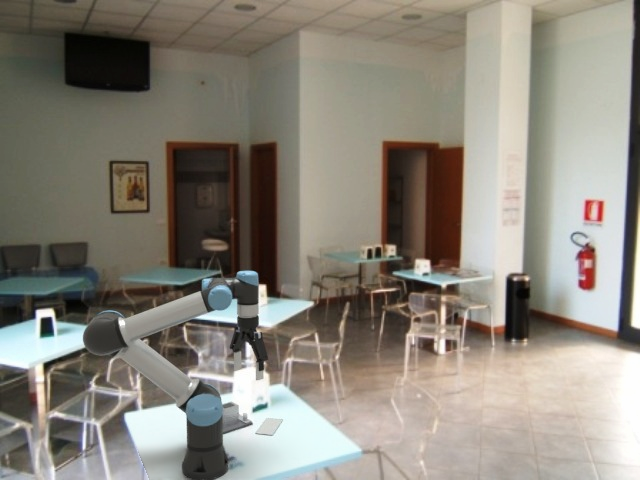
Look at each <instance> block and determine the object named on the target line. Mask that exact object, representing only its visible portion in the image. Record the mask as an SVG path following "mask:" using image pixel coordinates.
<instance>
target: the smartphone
mask: <svg viewBox="0 0 640 480" xmlns="http://www.w3.org/2000/svg"><path fill="white" fill-rule="evenodd" d="M283 421H284V419H283V418H270V417H268V418H267V417H266V418H265V420H263V422H262V424H261V425H260V426H259V428H258V429H257V430H256V431H255V434H256V435H260V436H261V435H262V436H269V437H270V436H271V437H272V436H274V434H275V433H276V431H277V430H278V428H280V426H281V424H282V422H283Z"/></svg>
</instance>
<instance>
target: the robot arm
mask: <svg viewBox="0 0 640 480" xmlns="http://www.w3.org/2000/svg"><path fill="white" fill-rule="evenodd" d="M259 288H260V284H259V273H258V272H257V271H254V270H241V271H238V272H237V273H236V276H235V277H217V278H216V277H210V278H204V279H202V280H201V290H199V291H197V292H194V293H191V294H189V295H185V296H183V297H181V298H178V299H175V300H173V301H172V300H171V301H170V302H167V303H164V304H161V305H159V306H156V307H154V308H150V309H148V310H145V311H142V312H140V313H137V314H135V315H131V316H128V317H124V315H123V314H121V313H120V312H119V311H116V310H103V311H101V312H99V313H98V314H96V315H95V316H94V317H93V318H92V319H91V320H90V321H89V323H88V325H87V326H86V327H85V329H84V330H83V335H82V343H83V345H84V347H85V349H86V350H87V351H88V352H89V353H91V354H92V355H96V356H109V357H111V358H112V359H120V360H123V362H125V363H127V364H128V365H129V366H131V367H132V368H133V369H134V370H135V371H137V372H138V373H140V374H141V375H142V376H143V377H145V378H147V379H148V380H149V381H150V382H152V383H153V384H154V385H155V386H157V387H158V388H159V389H161V390H162V391H163V392H165V393H166V394H167V395H168V396H170V397H171V398H172V399H174V400H175V406H176V407H177V408H178V409H179V410H181V411H182V412H183V413H185V416H186V451H185V453H184V456H183V460H182V464H181V472H182V475H183V476H184V477H185V478H187V479H190V480H214V479H215V480H216V479H218V478H219V477H222V476H223V475H225V474H226V473H227V472H228V471H229V468H228V464H229V458H228V455H227V453H226V449H225V447H224V434H223V406H222V404H223V401H222V396H221V393H220V392H219V391H218V389H217V388H216V387H215V386H214V385H212V384H210V383H207V382H206V383H204V381H202V380H201V379H200V378H191V377H189V376H188V375H187V374H186V373H184V372H183V371H182V370H180V369H179V368H178V367H177V366H175V365H174V364H173V363H171V362H170V361H169V360H168V359H166V358H165V357H164V356H163V355H161V354H160V353H159V352H157V351H156V350H155V349H154V348H153V347H151V346H150V345H148V344H147V343H146V342H145V341H143V340H141V339H143V338H145V337H148V336H151V335H153V334H156V333H159V332H162V331H163V330H167V329H169V328H172V327H174V326H177V325H180V324H182V323H185V322H188V321H190V320H193V319H197V318H198V317H201V316H203V315H206V314H207V315H208V314H209V313H212V312H215V311H225V310H226V309H228V308H230V306H231V304H232V302H233V300H236V315H237V317H236V321H237V323H236V325H235V326H234V329H233V335H232V338H231V341H230V345H229V349H230V350H232V352H233V371H234V372H235V371H239V370H242V348H243V346H244V344H245V342H246V343H248V345H249V346H250V347H251V349H252V351H253V353H254V356H255V358H256V361H255V380H256V381H261V380H264V375H265V373H264V371H265V361H268V360H269V356H268V353H267V349H266V346H265V341H264V337H263V332H262V331H259V332H258V331H257V327H259V326H260V320H259V319H260V316H259V303H260V301H259V298H260V297H259V296H260V295H259V294H260V289H259ZM229 465H230V464H229Z"/></svg>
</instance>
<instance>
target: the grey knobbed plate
mask: <svg viewBox="0 0 640 480" xmlns="http://www.w3.org/2000/svg"><path fill="white" fill-rule="evenodd" d="M253 424H254V422H253V421H252V420H251V419H249V418H248V413H246V412H244V413H243V414H242V415H241V414H240V413H239V423H236V424H233V425H230V426H227V427H224V428H223V435H225V434H229V433H231V432H235V431H238V430H240V429H244V428H246V427H250V426H252V425H253Z"/></svg>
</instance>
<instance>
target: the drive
mask: <svg viewBox="0 0 640 480" xmlns="http://www.w3.org/2000/svg"><path fill="white" fill-rule="evenodd" d="M222 406H223V428H224V427H227V426H230V425H233V424H236V423H239V414H240V413H239V412H240V411H239V404H237V403H235V402H233V401H229V402H225V403H222Z"/></svg>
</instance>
